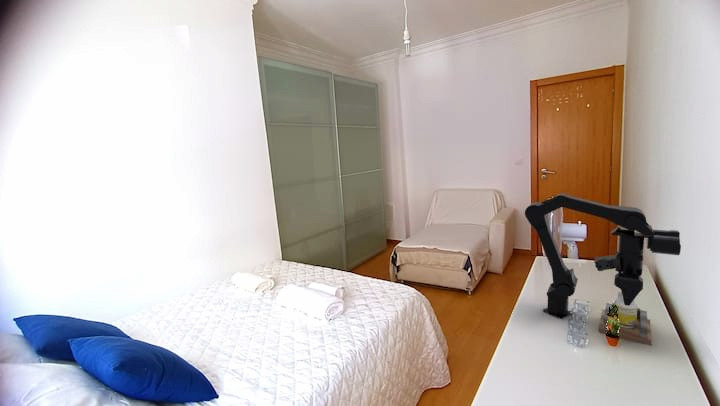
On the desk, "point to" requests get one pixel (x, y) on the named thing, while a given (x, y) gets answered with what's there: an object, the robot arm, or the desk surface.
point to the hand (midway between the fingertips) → (627, 299)
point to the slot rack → (635, 334)
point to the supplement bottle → (626, 312)
